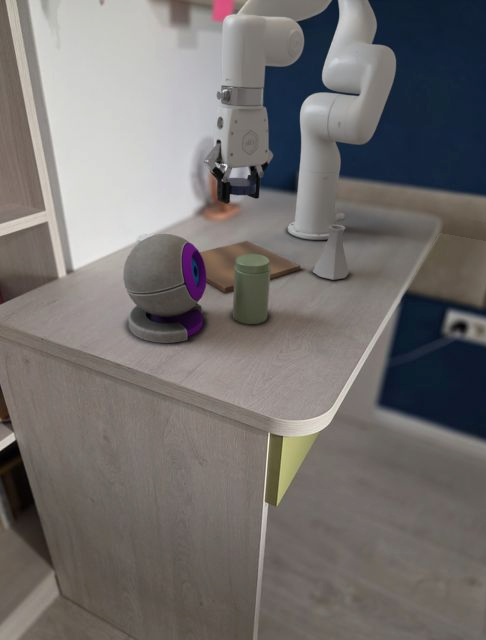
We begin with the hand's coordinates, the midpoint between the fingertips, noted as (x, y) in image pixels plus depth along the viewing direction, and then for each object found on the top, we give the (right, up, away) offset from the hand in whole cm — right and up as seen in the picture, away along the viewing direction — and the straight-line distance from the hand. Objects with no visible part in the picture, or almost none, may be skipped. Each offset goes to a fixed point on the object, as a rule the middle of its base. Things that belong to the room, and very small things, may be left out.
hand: (238, 198), depth 98 cm
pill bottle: (-17, -18, -3) cm, 25 cm away
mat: (0, -12, +8) cm, 14 cm away
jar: (+2, -24, -11) cm, 26 cm away
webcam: (-12, -25, -15) cm, 31 cm away
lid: (0, +2, -1) cm, 3 cm away
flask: (+19, -14, +6) cm, 25 cm away
